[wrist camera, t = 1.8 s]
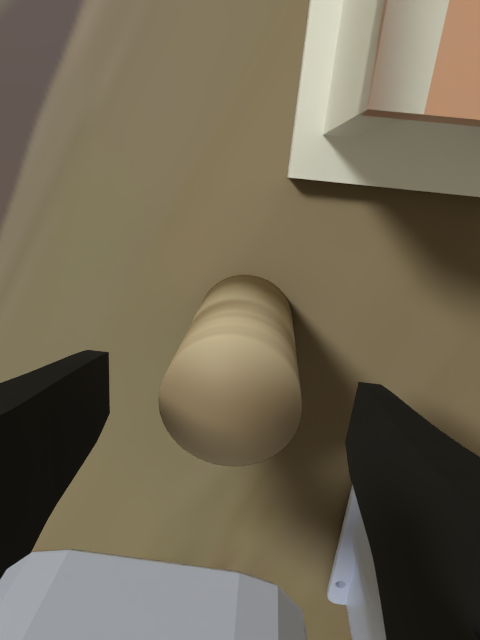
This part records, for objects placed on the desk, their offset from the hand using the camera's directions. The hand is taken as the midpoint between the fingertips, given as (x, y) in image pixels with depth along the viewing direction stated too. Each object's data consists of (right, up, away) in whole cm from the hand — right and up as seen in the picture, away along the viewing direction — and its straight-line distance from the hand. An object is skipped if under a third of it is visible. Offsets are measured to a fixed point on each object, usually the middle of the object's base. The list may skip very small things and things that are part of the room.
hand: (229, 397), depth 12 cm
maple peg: (+1, +2, +6) cm, 7 cm away
